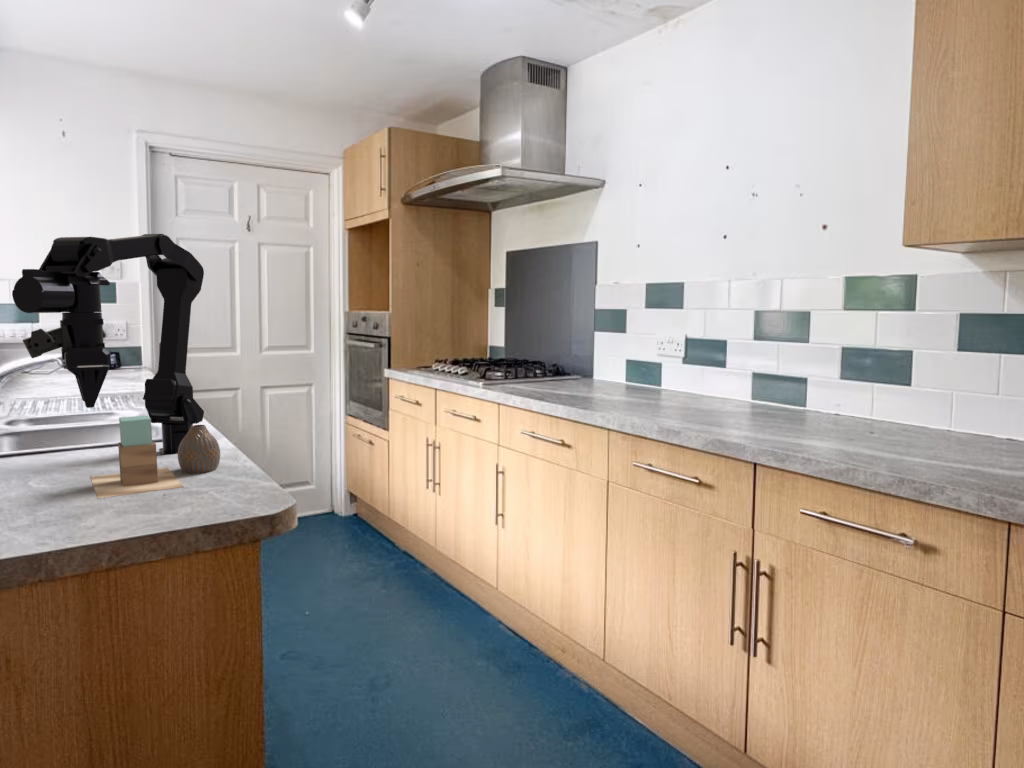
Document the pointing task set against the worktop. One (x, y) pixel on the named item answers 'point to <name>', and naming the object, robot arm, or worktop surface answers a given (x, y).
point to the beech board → (114, 486)
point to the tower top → (137, 455)
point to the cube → (135, 431)
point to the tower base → (138, 474)
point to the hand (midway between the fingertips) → (88, 404)
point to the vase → (198, 451)
